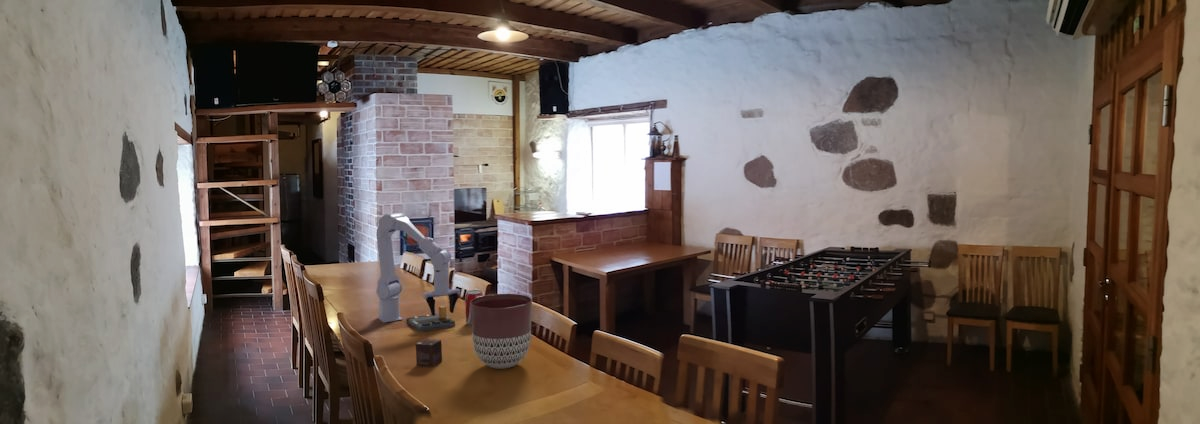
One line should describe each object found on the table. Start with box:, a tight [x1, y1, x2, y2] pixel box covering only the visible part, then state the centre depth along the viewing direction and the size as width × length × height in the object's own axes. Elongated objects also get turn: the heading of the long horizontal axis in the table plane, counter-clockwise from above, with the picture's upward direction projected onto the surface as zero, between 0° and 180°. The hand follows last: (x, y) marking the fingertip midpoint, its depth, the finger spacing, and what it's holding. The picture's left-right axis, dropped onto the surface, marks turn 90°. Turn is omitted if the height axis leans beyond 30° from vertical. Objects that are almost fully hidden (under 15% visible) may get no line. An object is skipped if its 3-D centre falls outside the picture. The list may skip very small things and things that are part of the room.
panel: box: [407, 313, 456, 333], centre depth 251 cm, size 14×14×3 cm
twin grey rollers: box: [406, 313, 438, 323], centre depth 258 cm, size 4×13×2 cm, turn 124°
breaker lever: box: [438, 305, 447, 319], centre depth 253 cm, size 3×2×4 cm, turn 34°
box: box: [415, 338, 443, 368], centre depth 205 cm, size 6×6×7 cm
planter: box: [470, 293, 533, 370], centre depth 202 cm, size 20×20×21 cm
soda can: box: [464, 289, 484, 326], centre depth 252 cm, size 7×7×13 cm
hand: (442, 313), depth 253 cm, fingers open, 7 cm apart
